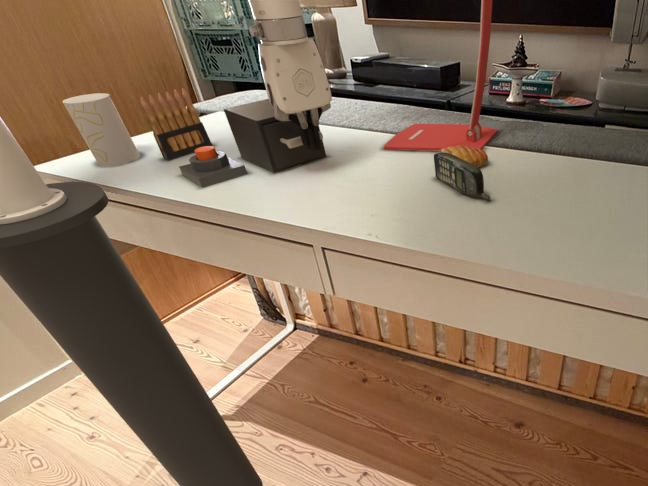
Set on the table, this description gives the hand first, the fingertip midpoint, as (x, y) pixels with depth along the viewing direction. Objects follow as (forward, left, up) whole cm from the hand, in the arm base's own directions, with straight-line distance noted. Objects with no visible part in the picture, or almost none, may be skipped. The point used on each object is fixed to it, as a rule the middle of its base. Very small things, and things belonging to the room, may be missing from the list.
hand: (313, 148), depth 87 cm
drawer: (0, +11, -4) cm, 11 cm away
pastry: (+20, -20, -5) cm, 28 cm away
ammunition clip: (-12, +35, -5) cm, 38 cm away
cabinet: (0, +14, -5) cm, 15 cm away
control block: (-14, +16, -5) cm, 22 cm away
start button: (-14, +17, -1) cm, 22 cm away
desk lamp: (+28, -2, -5) cm, 28 cm away
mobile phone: (+12, -28, -5) cm, 31 cm away
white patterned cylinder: (-24, +43, -5) cm, 50 cm away
